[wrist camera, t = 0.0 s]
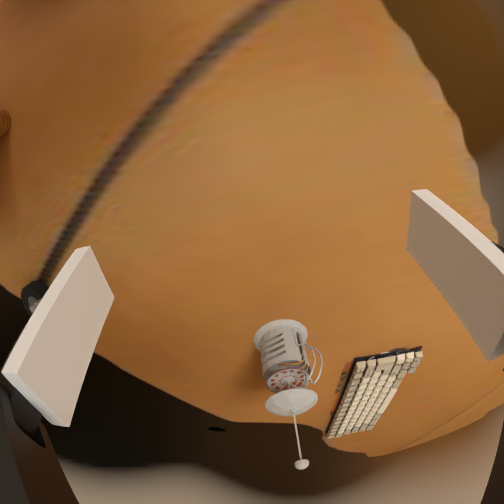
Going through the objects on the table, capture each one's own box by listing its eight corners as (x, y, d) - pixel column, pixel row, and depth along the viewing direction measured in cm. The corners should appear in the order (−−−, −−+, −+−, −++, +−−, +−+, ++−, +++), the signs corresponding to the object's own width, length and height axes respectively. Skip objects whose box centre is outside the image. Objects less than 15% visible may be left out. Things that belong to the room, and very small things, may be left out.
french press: (242, 343, 55) (250, 474, 34) (286, 303, 51) (316, 446, 29) (282, 362, 58) (301, 481, 37) (326, 327, 54) (363, 453, 33)
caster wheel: (30, 282, 49) (52, 265, 45) (62, 330, 52) (88, 318, 49) (8, 300, 43) (27, 284, 39) (43, 350, 46) (67, 341, 43)
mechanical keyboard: (379, 421, 80) (382, 430, 77) (320, 432, 80) (322, 441, 77) (422, 340, 61) (428, 351, 58) (345, 353, 60) (349, 365, 57)
